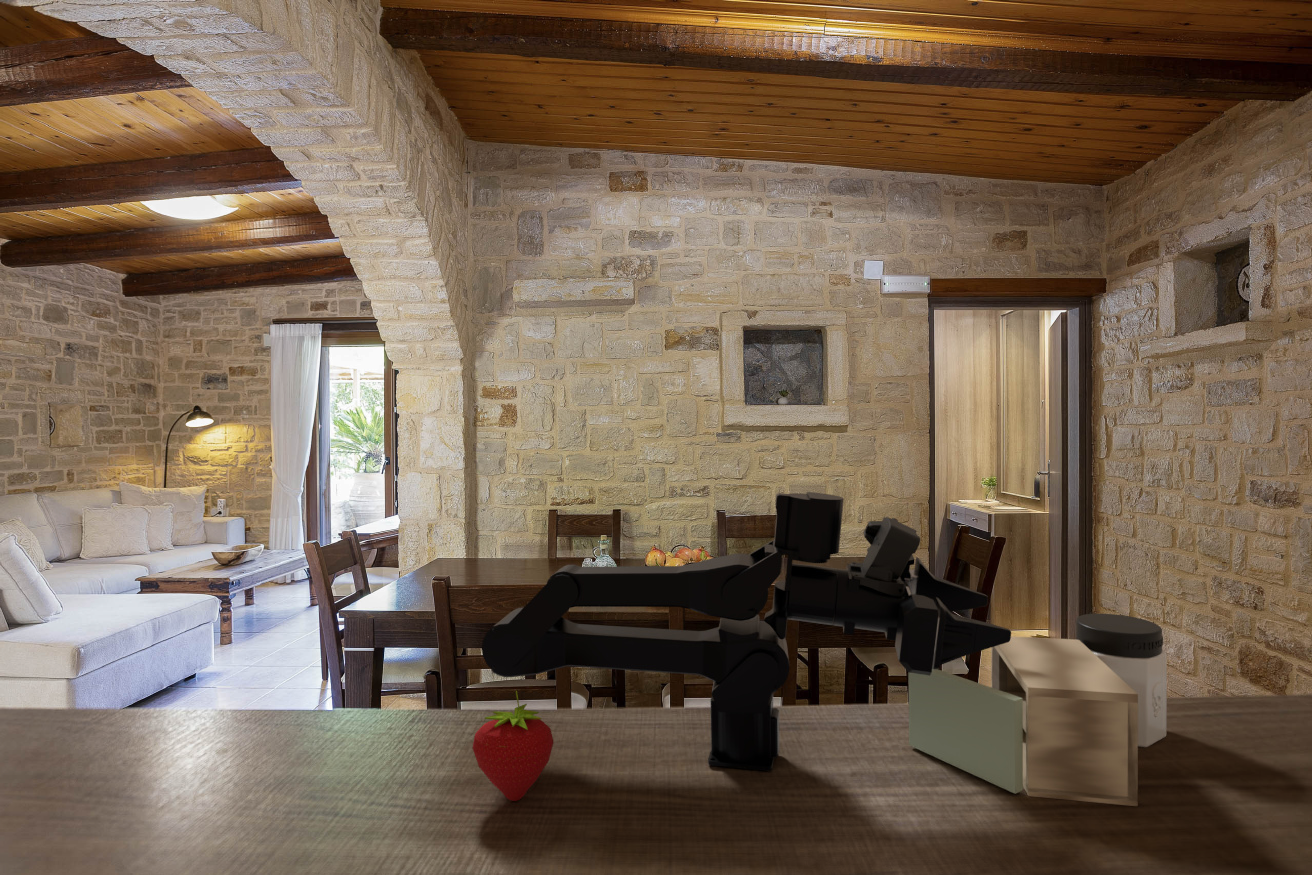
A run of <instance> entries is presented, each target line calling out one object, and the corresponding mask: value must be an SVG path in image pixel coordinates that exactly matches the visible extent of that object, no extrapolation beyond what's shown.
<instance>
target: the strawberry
mask: <svg viewBox="0 0 1312 875" xmlns="http://www.w3.org/2000/svg"><path fill="white" fill-rule="evenodd" d="M515 696H516V703H517V706H516V707H515V708H514V713H513V711H495V710H493V711H492V714H493V715H490V716H485V717H484V720H489V721H488V722H487V721H486V723H483V725H482V726H481V727H480V728H478V730H477V731H476V732H475V734H474V738H473V743H472V751H473V754H474V757H475V760H476V762H477V765H478V767H479V769H480V770H481V771H482V773H483V774H484V775H485V776H486V777H487V779H488V781H489V782H491V784H493V785H494V786H495V787H496V788H497V789H498V790H499V791H500V792H501V793H502V794H503V795H504V797H505V798H506V799H507V800H508V801H511V802H517V801H519V800H521V799H522V798H524V796H525V795H526V794H527V791H529V789H530V788H531V787H532V786H533V784H534V783H536V782H537V780H538V778H539V776H540V775H541V774H542V772H543V771H544V770H545V767H546V766H547V765H548V763H549V761H550V758H551V753H552V751H553V747H554V737H553V734H552V730H551V728H550V726H548V725H547V723H546V722H544V721H543V720H542V717H540V716H536V715H537V714H539V713H540V712H539V711H535V710H530V709H529V710H528V709H525V708H526V706H527V704H528V703H524V704H522V705H520V702H519V697H518V696H519V695H518V691H517V690H516V691H515Z"/></svg>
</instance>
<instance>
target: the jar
mask: <svg viewBox="0 0 1312 875" xmlns="http://www.w3.org/2000/svg"><path fill="white" fill-rule="evenodd" d="M1075 640H1080V641H1081V642H1082V643H1083V644H1084V645H1085V646H1086V647H1087V648H1088V649H1089V650H1091V651H1092V652H1093V653H1094V654H1095V655H1096V656H1097V657H1098V658H1099V659H1100V660H1101V661H1102V662H1104V663H1105V664H1106V665H1107V666H1108V667H1109V668H1110V669H1111V670H1112V671H1113V672H1114V673H1115V674H1117V675H1118V676H1119V677H1120V678H1121V679H1122V680H1123V681H1124V682H1125V683H1126V684H1127V685H1128V686H1130V687H1131V688H1132V689H1133V690H1134V691H1135V692H1136V693H1137V694H1138V747H1139V748H1140V747H1141V748H1148V747H1150V746H1151V745H1153V744H1155V743H1157V742H1158V741H1161V740H1162V739H1164V738H1165V737H1166V736H1167V679H1168V678H1167V670H1168V667H1167V666H1168V665H1167V664H1168V662H1167V659H1168V658H1167V651H1166V650H1163V646H1164V637H1163V628H1162V627H1161V626H1160V625H1158V624H1157V623H1155V622H1152V621H1150V620H1147V619H1143V618H1140V617H1135V616H1129V615H1123V614H1117V613H1116V614H1114V613H1088V614H1087V613H1086V614H1083V615H1080V616H1079V615H1078V617H1076V619H1075Z"/></svg>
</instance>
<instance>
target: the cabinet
mask: <svg viewBox="0 0 1312 875" xmlns="http://www.w3.org/2000/svg"><path fill="white" fill-rule="evenodd" d="M990 649H991V650H990V651H991V652H990V654H991V655H990V666H991V667H990V669H991V670H990V673H991V674H990V676H991V678H990V680H991V682H990V685H991V686H990V687H991V688H994V689H997V690H1000V691H1003V692H1006V693H1009V694H1012V695H1015V696H1018V697H1021V698H1023V789H1024V790H1025V793H1026V794H1027V796H1028V797H1036V798H1043V799H1044V798H1047V799H1056V800H1057V799H1058V800H1066V801H1067V800H1068V801H1077V802H1078V801H1079V802H1088V803H1098V804H1108V805H1109V804H1111V805H1119V806H1130V807H1132V806H1133V807H1138V802H1139V801H1138V788H1139V787H1138V786H1139V785H1138V784H1139V783H1138V781H1139V780H1138V779H1139V778H1138V777H1139V776H1138V775H1139V773H1138V772H1139V771H1138V769H1139V768H1138V765H1139V762H1138V759H1139V758H1138V756H1139V755H1138V754H1139V751H1138V750H1139V748H1138V747H1139V746H1138V694H1137V693H1136V692H1135V691H1134V690H1133V689H1132V688H1131V687H1130V686H1128V685H1127V684H1126V683H1125V682H1124V681H1123V680H1122V679H1121V678H1120V677H1119V676H1118V675H1117V674H1115V673H1114V672H1113V671H1112V670H1111V669H1110V668H1109V667H1108V666H1107V665H1106V664H1105V663H1104V662H1102V661H1101V660H1100V659H1099V658H1098V657H1097V656H1096V655H1095V654H1094V653H1093V652H1092V651H1091V650H1089V649H1088V648H1087V647H1086V646H1085V645H1084V644H1083V643H1082V642H1081V641H1080V640H1076V638H1075V639H1072V638H1071V639H1069V638H1055V637H1054V638H1050V637H1031V636H1027V637H1026V636H1012V635H1011V639H1010V641H1009V642H1007V643H1004V644H1001V645H998V646H994V647H991V648H990Z"/></svg>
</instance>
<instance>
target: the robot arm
mask: <svg viewBox="0 0 1312 875" xmlns="http://www.w3.org/2000/svg"><path fill="white" fill-rule="evenodd" d="M775 511H776V516H775V527H774V537H773V538H774V539H772V540H770V541H769V542H767V543H765V544H764V545H762V546H760V547H758V548H757V549H756V550H754V551H752V552H751V553H749V554H748V553H734V554H728V555H721V556H717V557H712V558H708V559H703V560H701V561H697V562H694V563H693V562H692V563H690V564H683V565H664V566H663V565H662V566H661V565H658V566H657V565H653V566H651V565H650V566H648V565H647V566H645V565H644V566H640V565H639V566H628V565H627V566H580V565H577V564H567V565H564V566H562V567H561V568H559V569H558V570H556V572H555V573H553V574H552V575H551V576H550V577H549V578H548V580H547V582H546V584H544V586H543V587H542V588H541V589H540V590H539V591H538V592H537V593H536V594H535V595H534V597H532V598H531V599H530V600H529V601H528V603H526V605H525V606H524V607H523V606H522V607H517V608H515V609H514V610H512V611H511V612H509V613H508V614H507V615H505V616H504V617H503V618H502V619H501V620H499V621H498V622H497V623H495V624H494V625H493V626H492V627H490V629H489V630H488V631H487V632H486V633H485V634H484V638H482V644H481V653H482V654H481V655H482V658H483V660H484V661H485V664H486V665H487V666H488V667H489V668H490V670H491V673H492V674H494V675H497V676H499V677H503V678H516V677H517V678H518V677H525V676H536V675H540V674H543V673H546V672H550V671H554V670H557V669H562V668H565V667H566V668H567V667H578V668H591V669H592V668H593V669H606V670H607V669H608V670H622V671H634V672H635V671H636V672H639V671H640V672H650V673H651V672H653V673H664V674H665V673H666V674H681V675H682V674H683V675H696V676H701V677H704V678H706V679H708V680H710V681H713V683H712V684H713V685H712V690H711V697H710V747H711V748H710V753H709V755H708V758H707V764H708V765H709V766H713V767H724V768H725V767H726V768H736V769H737V768H738V769H745V770H757V771H766V772H767V771H769V772H770V771H771V770H773V766H774V760H775V759H776V758H777V757H779V750H780V710H779V709H778V707H774V694H775V693H776V692H777V691H779V689H780V688H781V687H783V685H784V684H785V683H786V681H787V679H788V677H789V674H790V668H791V667H790V660H789V651H788V650H789V649H788V644H787V640H786V636H787V625H788V620H792V621H800V622H807V623H814V624H822V625H829V626H836V627H842V629H843V630H842V632H843V635H851V636H855V629H860V630H864V631H865V630H867V631H872V632H873V631H875V632H880V633H884V635H885V639H886V640H887V641H893V642H894V641H895V643H894V647H895V651H896V654H897V659H898V662H899V663H900V664H901V666H902V667H903V668H904V669H905V670H906V671H907V672H909V673H916V674H923V675H931V673H932V669H938V670H940V667H941V666H942V665H945V664H947V663H950V662H952V661H955V660H958V659H959V658H963V657H966V656H968V655H972V654H975V653H978V652H981V651H985V650H988V649H991V647H994V646H998V645H1001V644H1004V643H1007V642H1009V641H1010V639H1011V636H1012V631H1011V630H1010V628H1006V627H1003V626H1000V625H996V624H992V623H988V622H984V621H982V620H978V619H973V618H970V617H969V618H968V617H966V616H962V615H957V614H954V612H959V611H960V612H961V611H966V610H974V609H979V608H983V607H986V606H988V601H989V598H988V595H986V594H984V593H982V592H978V591H977V590H973V589H971V588H968V587H966V586H964V585H963V586H962V585H960V584H957V583H955V582H951V581H950V580H947V579H944V578H942V577H940V576H936V575H934V574H932V573H931V571H930V570H929V569H928V568H927V566H926V565H925V564H924V563H923V561H922V560H921V559H920V558H919V557H914V555H913V554H916V552H917V550H918V548H919V546H920V543H921V537H920V536H919V535H918V534H917V530H916V529H914V528H912V527H910V526H908V525H906V524H904V523H901V522H899V520H898V519H897V518H894V517H892V518H890V517H888V516H884V517H882V520H869V521H868V522H867V524H866V526H865V528H864V530H863V532H862V533H863V536H864V539H866V541H867V542H868V544H869V546H868V547H867V549H866V555H865V557H864V560H863V561H862V562H855V561H851V562H850V563H849V564H848V563H846V568H845V569H844V568H843V569H842V568H836V567H835V568H834V567H828V566H827V567H826V566H818V565H809V564H826V563H828V562H829V560H831V556H832V555H837V554H839V552H840V543H841V532H842V522H843V513H844V512H843V511H844V497H842V496H840V495H834V494H830V493H824V492H823V493H822V492H813V491H811V492H810V491H807V492H806V493H802V492H801V493H793V492H792V493H784V492H778V493H776V495H775ZM783 556H787V558H786V559H787V561H786V572H785V574H786V575H785V579H783V580H779V581H776V580H777V579H778V578H779V576H780V575H781V572H782V564H783V563H782V559H783ZM793 561H798V562H803V563H809V564H800V563H793ZM913 565H914V568H913V569H912V568H911V566H913ZM775 581H776V582H775ZM773 583H774V587H773V589H774V590H773V599H772V608H771V609H770V610H768V611H767V612H765V615H764V619H763V620H760V615H759V614H760V613H761V612H762V610H764V608H765V607H766V604H767V603H768V599H769V588H770V587H771V586H772V585H773ZM575 607H576V608H578V607H579V608H580V607H583V608H585V607H586V608H589V607H591V608H592V607H593V608H596V607H597V608H598V607H603V608H607V607H612V608H614V607H615V608H616V607H617V608H619V607H620V608H621V607H622V608H623V607H624V608H625V607H626V608H629V607H631V608H635V607H636V608H637V607H638V608H641V607H642V608H643V607H644V608H645V607H646V608H649V607H650V608H652V607H653V608H654V607H655V608H661V607H662V608H663V607H665V608H682V609H688V610H692V611H694V612H697V613H700V614H703V615H706V616H709V617H715V618H720V619H719V625H718V627H714V628H711V629H707V630H688V629H687V630H685V629H684V630H683V629H668V628H652V627H651V628H649V627H635V626H634V627H633V626H621V625H620V626H619V625H618V626H616V625H602V624H587V623H586V624H583V623H576V622H573V621H571V620H569V619H566V618H565V617H563V616H564V615H565V614H566V613H567V612H568V611H569V610H570V609H571V608H575ZM952 612H953V613H952Z"/></svg>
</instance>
